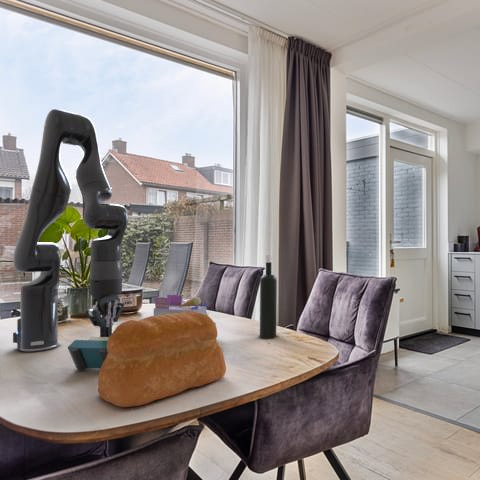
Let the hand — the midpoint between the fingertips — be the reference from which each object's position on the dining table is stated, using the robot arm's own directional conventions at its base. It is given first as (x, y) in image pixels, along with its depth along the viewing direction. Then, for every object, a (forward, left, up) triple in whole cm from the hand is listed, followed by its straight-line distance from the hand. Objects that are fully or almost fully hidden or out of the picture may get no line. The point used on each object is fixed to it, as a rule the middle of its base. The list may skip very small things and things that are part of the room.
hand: (106, 340), depth 112 cm
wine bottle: (+35, +36, -7) cm, 51 cm away
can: (+2, +38, -7) cm, 39 cm away
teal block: (0, -1, -6) cm, 6 cm away
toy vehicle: (+8, +29, -7) cm, 31 cm away
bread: (+24, -13, -7) cm, 28 cm away
